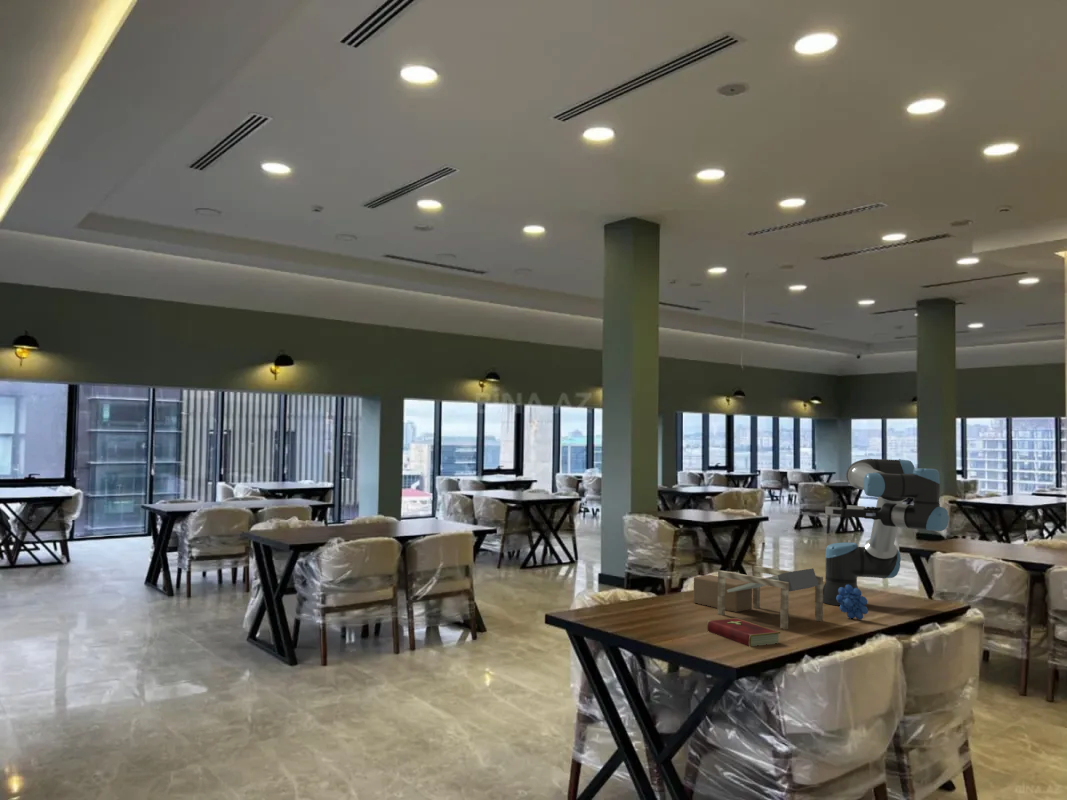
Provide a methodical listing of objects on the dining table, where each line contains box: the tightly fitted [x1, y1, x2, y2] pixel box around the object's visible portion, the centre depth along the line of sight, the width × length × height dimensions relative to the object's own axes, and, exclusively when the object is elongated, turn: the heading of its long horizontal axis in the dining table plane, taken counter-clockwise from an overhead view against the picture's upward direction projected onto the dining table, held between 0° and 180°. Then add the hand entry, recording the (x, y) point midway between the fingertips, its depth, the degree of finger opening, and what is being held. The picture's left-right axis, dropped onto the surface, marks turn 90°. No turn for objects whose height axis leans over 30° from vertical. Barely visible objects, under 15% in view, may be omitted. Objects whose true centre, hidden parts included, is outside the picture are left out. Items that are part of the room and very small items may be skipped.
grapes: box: [836, 584, 869, 621], centre depth 290 cm, size 12×7×12 cm, turn 43°
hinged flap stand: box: [717, 565, 824, 630], centre depth 289 cm, size 28×23×16 cm
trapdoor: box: [727, 568, 819, 592], centre depth 288 cm, size 26×19×6 cm
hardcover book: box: [706, 617, 781, 648], centre depth 259 cm, size 12×21×4 cm, turn 25°
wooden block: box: [692, 574, 753, 613], centre depth 307 cm, size 10×10×20 cm
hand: (836, 509), depth 281 cm, fingers open, 13 cm apart
